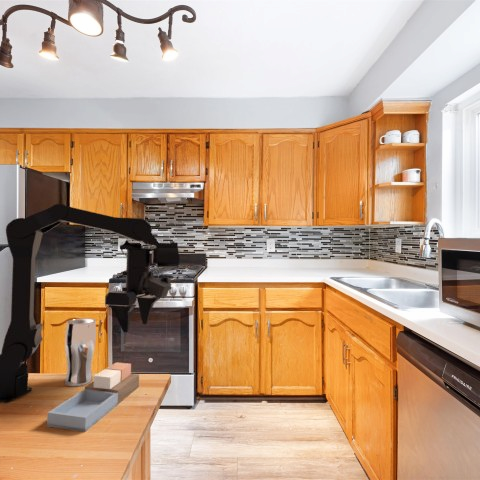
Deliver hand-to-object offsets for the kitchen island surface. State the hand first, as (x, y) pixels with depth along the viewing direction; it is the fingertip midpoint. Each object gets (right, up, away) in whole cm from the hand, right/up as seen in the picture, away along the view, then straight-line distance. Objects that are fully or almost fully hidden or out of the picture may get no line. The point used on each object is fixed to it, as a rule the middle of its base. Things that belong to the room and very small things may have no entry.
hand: (135, 327), depth 80 cm
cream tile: (-3, -10, -11) cm, 15 cm away
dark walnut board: (-2, -13, -9) cm, 15 cm away
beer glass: (-13, -13, -2) cm, 19 cm away
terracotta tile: (-2, -10, -6) cm, 12 cm away
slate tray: (-4, -12, -18) cm, 22 cm away
